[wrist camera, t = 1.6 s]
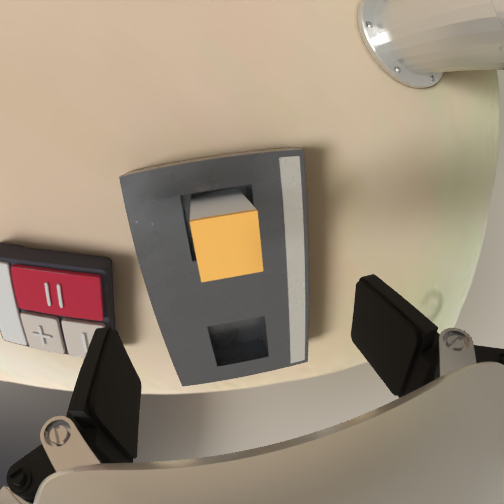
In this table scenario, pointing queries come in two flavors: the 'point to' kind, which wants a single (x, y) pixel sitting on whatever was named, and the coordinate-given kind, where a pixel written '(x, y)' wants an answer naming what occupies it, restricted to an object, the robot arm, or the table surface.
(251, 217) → the plug
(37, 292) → the calculator
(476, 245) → the table surface
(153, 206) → the port panel
